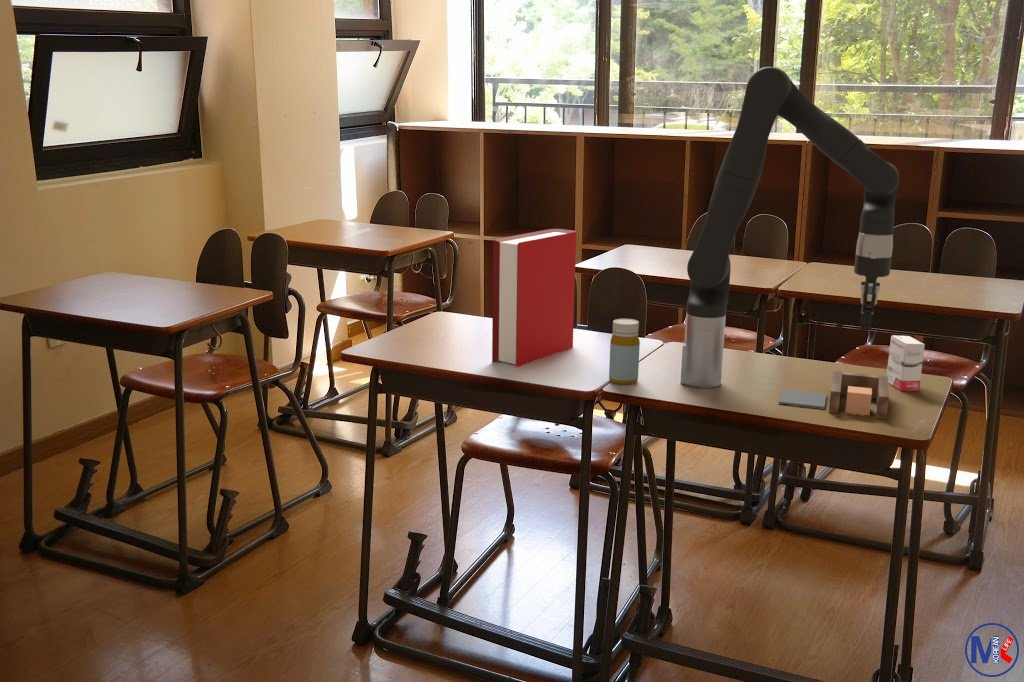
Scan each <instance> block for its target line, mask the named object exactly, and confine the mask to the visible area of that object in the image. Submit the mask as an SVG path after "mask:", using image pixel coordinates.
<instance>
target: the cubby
mask: <svg viewBox="0 0 1024 682" xmlns="http://www.w3.org/2000/svg"><path fill="white" fill-rule="evenodd" d="M848 386H853V387H863V388H872V397H874V398H873V399H875V401H876V402H875V403H876V404H877V410H876V418H877V419H880V418H881V419H880V420H882V419H883V420H887V418H888V408H889V399H890V391H889V383H888V376H887V375H876V374H865V373H857V372H849V371H847V372H845V371H838V370H833V373H832V379H831V388H830V396H829V397H830V398H829V403H828V404H829V406H828V413H831V414H837V413H838V414H839V409H840V398H841V395H840V394H847V392H848Z"/></svg>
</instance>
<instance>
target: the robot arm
mask: <svg viewBox="0 0 1024 682" xmlns="http://www.w3.org/2000/svg"><path fill="white" fill-rule="evenodd" d="M745 87H746V88H745V92H744V97H743V102H742V106H741V111H740V113H739V114H740V115H739V118H738V123H737V125H736V128H735V131H734V133H733V136H732V138H731V140H730V142H729V145H728V147H727V149H726V152H725V154H724V157H723V159H722V162H721V165H720V168H719V170H718V174H717V176H716V180H715V183H714V187H713V190H712V193H711V197H710V201H709V205H708V208H707V212H706V218H705V221H704V225H703V227H702V231H701V233H700V236H699V238H698V241H697V243H696V245H695V247H694V249H693V251H692V253H691V256H690V257H689V260H688V262H687V267H686V268H687V269H686V271H687V276H688V278H689V281H690V287H689V294H688V298H687V302H686V315H685V316H686V318H685V331H684V332H685V333H684V334H685V335H684V344H683V345H682V350H681V351H682V354H681V372H680V384H681V385H687V386H691V387H692V388H693V387H695V388H703V389H704V388H706V389H710V388H715V387H719V386H721V384H722V377H723V376H722V373H723V358H724V345H725V329H726V317H727V306H728V301H729V293H730V292H729V291H730V280H731V267H732V266H731V259H730V253H731V249H732V245H733V242H734V238H735V236H736V234H737V231H738V229H739V228H740V226H741V224H742V222H743V220H744V218H745V216H746V215H747V212H748V210H749V209H750V207H751V204H752V203H753V202H752V201H753V199H754V197H755V194H756V191H757V189H758V187H759V183H760V179H761V177H762V172H763V169H764V165H765V161H766V160H765V159H766V153H767V147H768V141H769V137H770V133H771V131H772V128H773V125H774V124H775V121H776V118H778V117H777V116H779V117H780V118H782V119H784V120H785V121H787V122H788V123H789V124H791V125H792V126H793V127H795V128H796V129H797V130H798V131H799V132H800V133H801V134H802V135H803V136H804V137H806V138H807V140H809V142H810V143H812V144H813V146H814V147H816V149H817V150H819V151H820V152H821V154H823V155H824V156H825V157H827V158H828V159H830V161H832V162H833V163H834V164H836V165H837V166H838V167H840V168H841V169H842V170H845V171H846V172H847V173H848V174H849V175H851V177H852V178H853V179H854V180H855V181H857V183H859V184H860V185H861V186H862V187H863V188H864V189H863V190H864V191H863V208H862V211H861V213H860V222H859V230H858V237H857V241H856V247H855V249H856V250H855V257H854V259H855V260H854V267H853V268H854V269H853V270H854V271H853V272H854V274H856V275H858V276H861V277H862V276H863V277H865V281H862V280H861V282H860V292H861V293H860V304H861V310H860V311H861V321H860V322H861V323H860V329H861V330H862V331H871V330H872V323H873V315H874V313H875V306H876V305H877V304H878V296H879V295H878V294H879V293H880V287H881V282H877V279H878V278H885V277H888V276H890V274H891V266H892V255H893V250H894V249H893V247H894V238H893V237H894V235H893V234H894V228H895V219H896V218H895V217H896V216H895V215H896V214H895V206H896V199H897V193H898V186H899V184H900V173H899V171H898V170H899V169H897V167H896V165H895V164H893V163H891V162H889V161H886V160H885V159H884V158H882V157H880V156H879V155H878V154H876V153H875V152H874V151H873V150H871V149H870V148H869V146H868V145H867V144H866V143H865V142H864V141H863V140H862V139H860V138H859V137H858V136H856V135H855V134H854V133H853V132H852V131H850V130H849V129H848V128H847V127H845V126H844V125H843V124H841V123H840V122H839V121H837V120H836V119H835V118H832V116H830V115H829V114H827V113H826V112H825V111H823V110H822V109H820V108H819V107H818V106H817V105H815V104H814V103H813V102H812V101H811V100H810V99H808V97H806V95H804V94H803V93H802V91H801V90H800V89H799V88H798V86H796V85H795V83H794V82H793V81H792V80H791V79H790V77H789V75H788V74H787V73H786V71H784V70H783V69H780V68H778V67H775V66H774V67H773V66H764V67H761V68H759V69H757V70H756V71H754V72H753V74H751V76H750V77H749V78H748V81H747V82H746V86H745Z"/></svg>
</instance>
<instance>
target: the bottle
mask: <svg viewBox="0 0 1024 682" xmlns="http://www.w3.org/2000/svg"><path fill="white" fill-rule="evenodd" d="M639 322H640V321H638V320H637V319H633V318H617V319H614V320H613V321H612V335H611V338H610V345H609V368H608V369H609V370H608V379H609V381H610V382H611V383H612V384H615V385H619V386H631V385H634V384H636V383H637V382H638V381H639V369H640V368H639V367H640V366H639V365H640V344H641V343H640V341H641V340H640V338H639V328H640V327H639V326H640V323H639Z"/></svg>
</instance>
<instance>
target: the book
mask: <svg viewBox="0 0 1024 682" xmlns="http://www.w3.org/2000/svg"><path fill="white" fill-rule="evenodd" d="M576 249H577V230H571V229H564V228H563V229H562V228H548V229H544V230H537V231H532V232H527V233H521V234H515V235H512V236H511V235H510V236H506V237H505V236H504V237H499V238H493V239H492V321H491V322H492V327H491V329H492V330H491V331H492V332H491V333H492V334H491V336H492V337H491V338H492V341H491V348H492V349H491V355H492V356H491V362H492V363H494V362H498V361H500V362H504V363H508V364H513V365H515V366H516V368H518V367H521V366H524V365H527V364H530V363H533V362H535V361H536V362H537V361H538V360H542V359H545V358H547V357H549V356H553V355H555V354H559V353H561V352H564V351H566V350H569V349H572V348H574V326H575V325H574V317H575V291H576V290H575V288H576V286H575V285H576V281H575V280H576V256H577V255H576V254H577V253H576V252H577V250H576Z"/></svg>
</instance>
